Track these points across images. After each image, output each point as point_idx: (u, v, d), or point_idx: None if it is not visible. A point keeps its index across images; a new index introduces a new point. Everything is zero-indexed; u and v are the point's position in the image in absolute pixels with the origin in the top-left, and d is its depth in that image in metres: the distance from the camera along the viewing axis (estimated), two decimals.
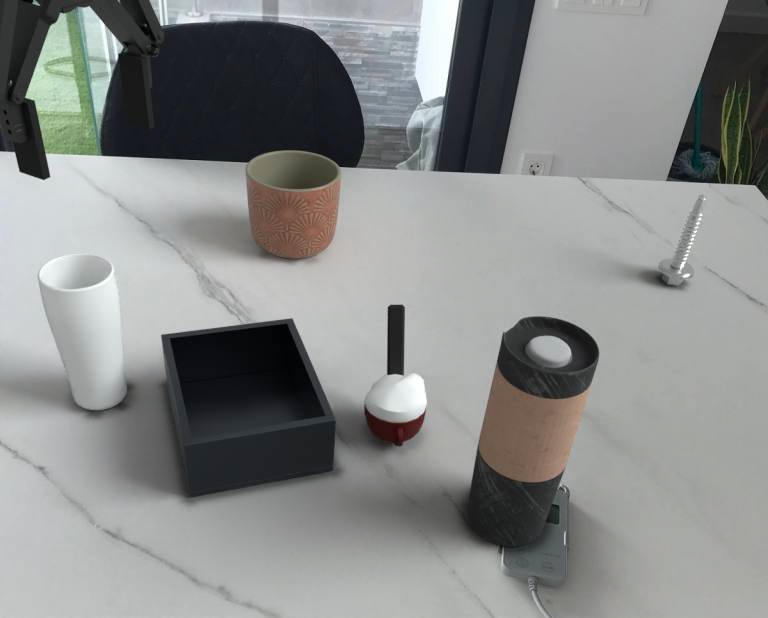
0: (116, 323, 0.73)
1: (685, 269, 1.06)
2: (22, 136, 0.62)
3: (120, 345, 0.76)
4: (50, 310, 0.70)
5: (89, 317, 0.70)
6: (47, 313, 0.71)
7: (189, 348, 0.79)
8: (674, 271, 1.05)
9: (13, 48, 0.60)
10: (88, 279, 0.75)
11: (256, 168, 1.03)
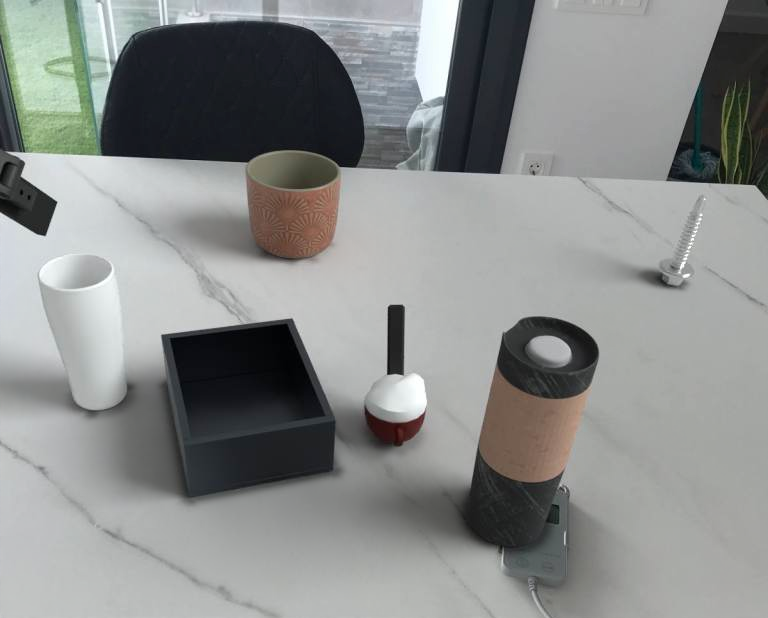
0: (115, 323, 0.73)
1: (685, 269, 1.06)
2: None
3: (120, 345, 0.76)
4: (50, 310, 0.70)
5: (89, 317, 0.70)
6: (47, 313, 0.71)
7: (189, 348, 0.79)
8: (674, 271, 1.05)
9: None
10: (88, 279, 0.75)
11: (256, 168, 1.03)
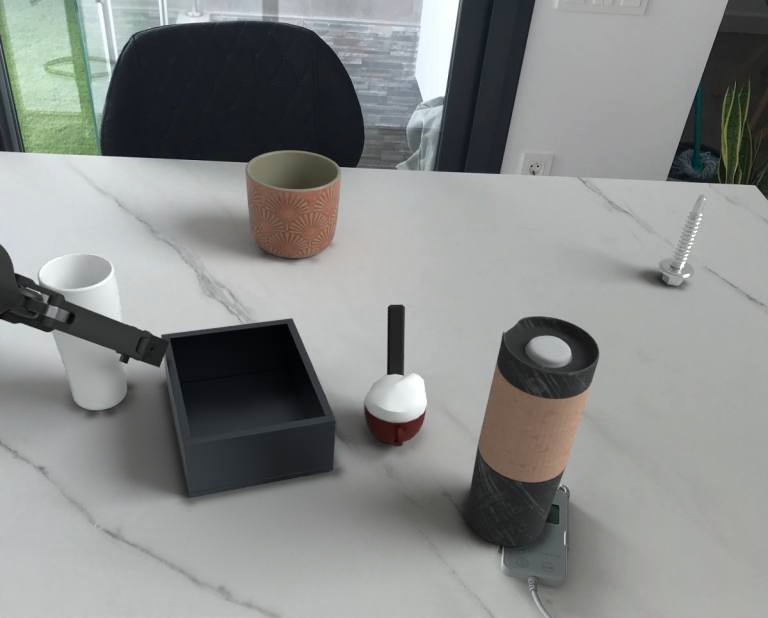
0: None
1: (685, 269, 1.06)
2: None
3: None
4: None
5: None
6: None
7: (189, 348, 0.79)
8: (674, 271, 1.05)
9: None
10: (88, 279, 0.75)
11: (256, 168, 1.03)
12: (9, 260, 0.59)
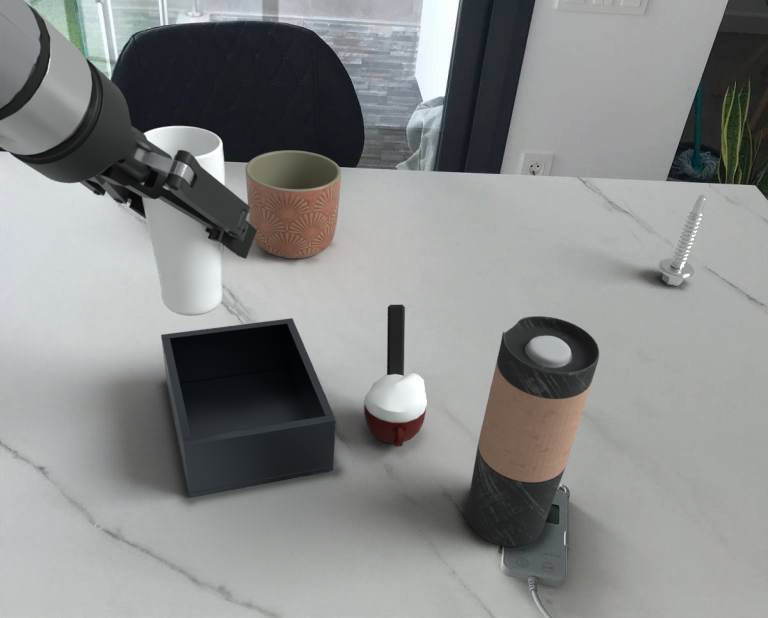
0: None
1: (685, 269, 1.06)
2: None
3: None
4: None
5: None
6: None
7: (189, 348, 0.79)
8: (674, 271, 1.05)
9: None
10: None
11: (256, 168, 1.03)
12: (124, 99, 0.49)
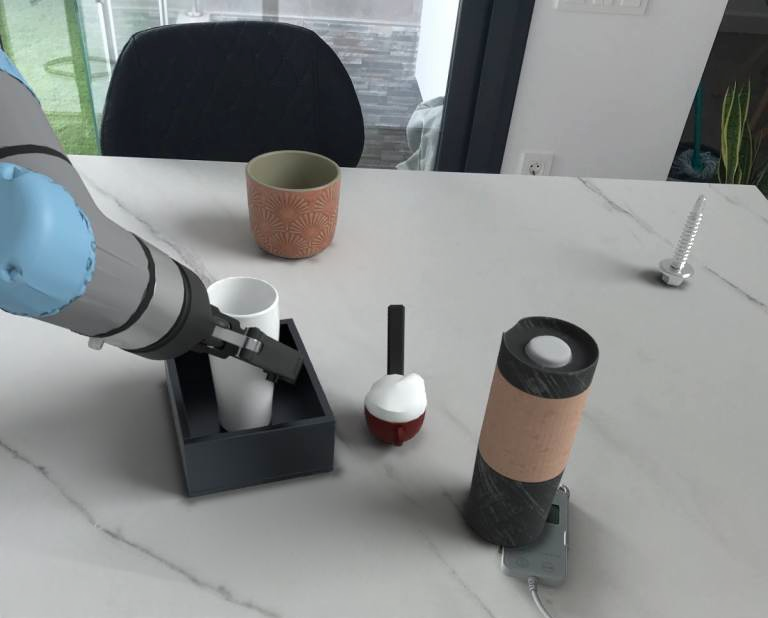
0: None
1: (685, 269, 1.06)
2: None
3: None
4: None
5: None
6: None
7: None
8: (674, 271, 1.05)
9: None
10: (244, 302, 0.73)
11: (256, 168, 1.03)
12: (205, 289, 0.58)
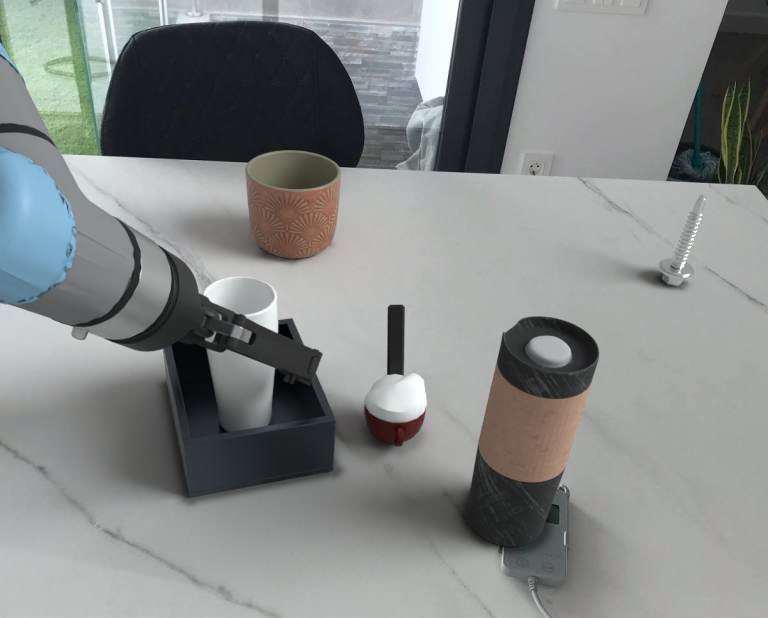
0: None
1: (685, 269, 1.06)
2: None
3: (274, 370, 0.74)
4: (214, 336, 0.68)
5: None
6: (209, 339, 0.69)
7: (189, 348, 0.79)
8: (674, 271, 1.05)
9: None
10: (242, 302, 0.73)
11: (256, 168, 1.03)
12: (194, 277, 0.56)
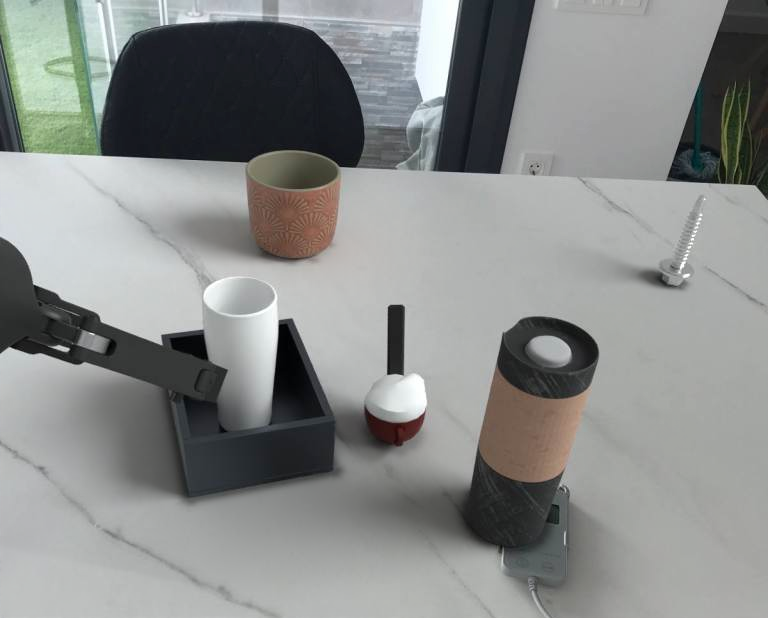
0: (274, 348, 0.71)
1: (685, 269, 1.06)
2: None
3: (274, 370, 0.74)
4: (214, 336, 0.68)
5: (254, 343, 0.68)
6: (209, 339, 0.69)
7: (189, 348, 0.79)
8: (674, 271, 1.05)
9: None
10: (242, 302, 0.73)
11: (256, 168, 1.03)
12: (26, 268, 0.42)
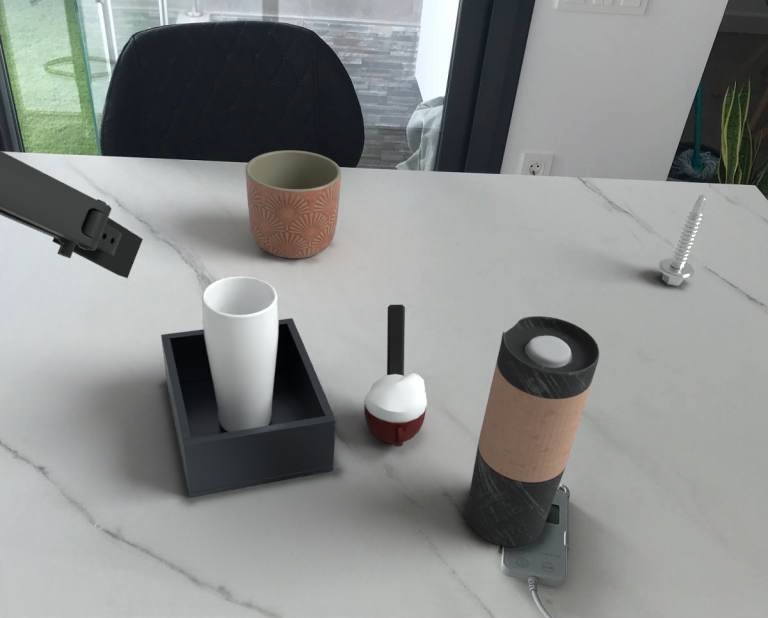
0: (275, 348, 0.71)
1: (685, 269, 1.06)
2: None
3: (274, 370, 0.74)
4: (215, 336, 0.68)
5: (254, 343, 0.68)
6: (210, 339, 0.69)
7: (189, 348, 0.79)
8: (674, 271, 1.05)
9: None
10: (243, 302, 0.73)
11: (256, 168, 1.03)
12: None
